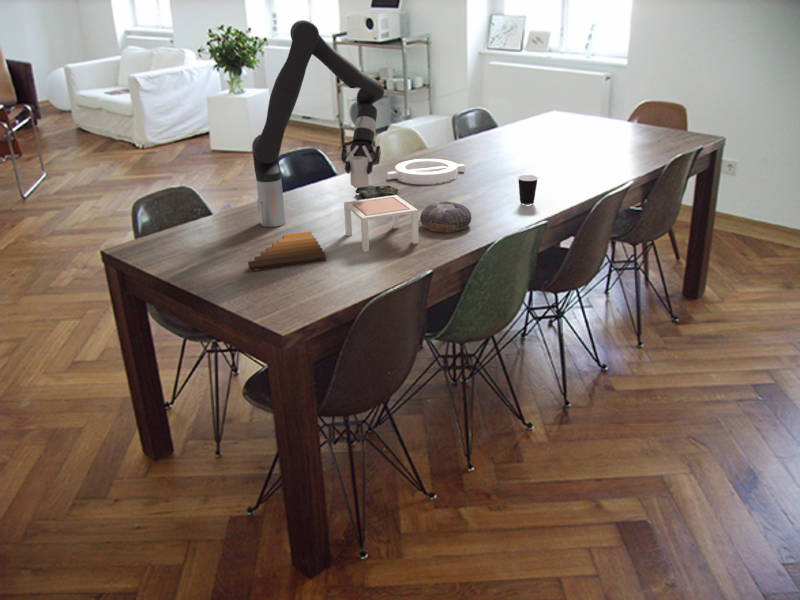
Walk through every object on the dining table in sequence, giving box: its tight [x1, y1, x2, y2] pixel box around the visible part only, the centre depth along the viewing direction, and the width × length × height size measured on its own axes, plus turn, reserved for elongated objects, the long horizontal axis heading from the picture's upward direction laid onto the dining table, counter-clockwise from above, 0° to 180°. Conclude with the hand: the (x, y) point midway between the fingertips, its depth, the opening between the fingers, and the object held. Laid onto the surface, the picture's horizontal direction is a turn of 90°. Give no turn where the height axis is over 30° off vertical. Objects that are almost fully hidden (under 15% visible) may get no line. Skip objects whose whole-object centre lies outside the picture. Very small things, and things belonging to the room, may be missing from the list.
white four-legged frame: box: [343, 194, 419, 253], centre depth 272 cm, size 20×20×12 cm
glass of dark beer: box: [517, 174, 539, 205], centre depth 305 cm, size 8×8×11 cm
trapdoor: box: [353, 198, 408, 216], centre depth 270 cm, size 15×15×1 cm
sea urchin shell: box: [419, 200, 472, 234], centre depth 284 cm, size 19×19×10 cm
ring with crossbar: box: [386, 158, 466, 185], centre depth 349 cm, size 28×28×5 cm
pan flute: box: [247, 231, 327, 271], centre depth 263 cm, size 25×3×25 cm
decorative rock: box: [354, 184, 399, 199], centre depth 325 cm, size 19×6×15 cm
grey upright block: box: [349, 156, 370, 189], centre depth 275 cm, size 5×5×10 cm
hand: (358, 172), depth 274 cm, fingers closed on grey upright block, 7 cm apart
